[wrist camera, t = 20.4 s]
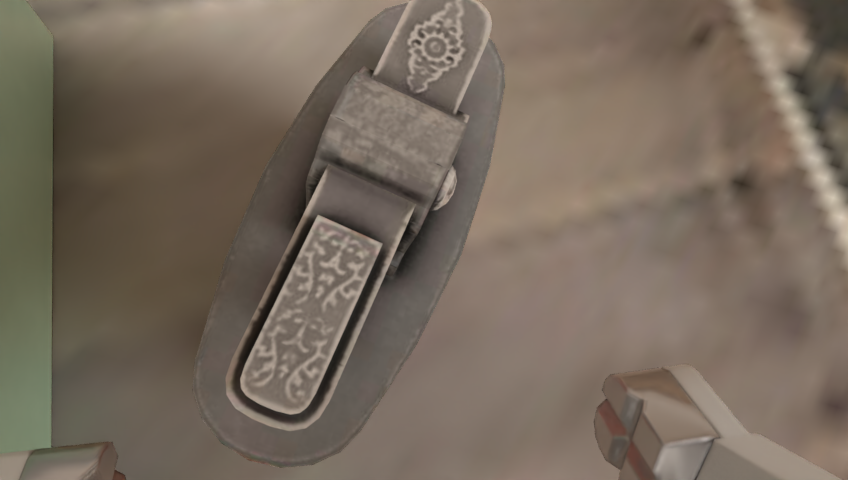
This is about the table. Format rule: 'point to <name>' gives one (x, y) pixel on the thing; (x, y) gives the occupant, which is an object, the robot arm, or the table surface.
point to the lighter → (351, 235)
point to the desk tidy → (25, 228)
